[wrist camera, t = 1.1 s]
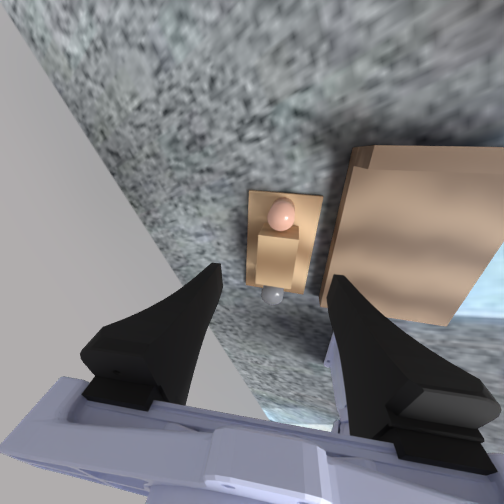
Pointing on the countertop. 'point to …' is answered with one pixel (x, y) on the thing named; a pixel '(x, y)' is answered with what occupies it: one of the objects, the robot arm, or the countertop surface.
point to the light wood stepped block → (417, 227)
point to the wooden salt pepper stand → (280, 241)
